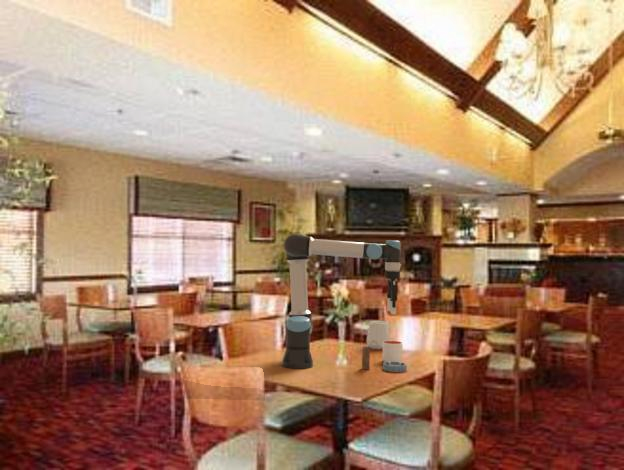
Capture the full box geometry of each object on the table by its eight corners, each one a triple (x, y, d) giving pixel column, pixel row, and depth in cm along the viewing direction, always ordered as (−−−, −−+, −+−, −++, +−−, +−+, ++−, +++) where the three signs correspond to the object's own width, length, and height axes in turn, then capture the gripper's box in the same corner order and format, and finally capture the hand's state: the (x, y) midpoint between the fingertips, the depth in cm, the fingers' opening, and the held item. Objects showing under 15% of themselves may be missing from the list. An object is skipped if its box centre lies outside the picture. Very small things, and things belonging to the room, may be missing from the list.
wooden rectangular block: (362, 369, 281) (362, 346, 281) (361, 368, 284) (362, 345, 284) (369, 369, 281) (369, 346, 281) (368, 368, 283) (369, 345, 284)
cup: (401, 364, 295) (401, 344, 295) (381, 363, 297) (381, 343, 297) (402, 360, 305) (402, 341, 305) (383, 359, 307) (383, 340, 307)
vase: (394, 347, 344) (395, 321, 345) (384, 350, 332) (385, 324, 333) (373, 344, 352) (373, 319, 352) (362, 348, 340) (362, 321, 340)
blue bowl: (384, 371, 277) (384, 364, 277) (382, 367, 288) (382, 359, 288) (407, 372, 276) (408, 364, 276) (404, 367, 287) (404, 360, 287)
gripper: (403, 272, 285) (402, 315, 285) (396, 269, 310) (395, 310, 310) (388, 271, 285) (387, 315, 285) (382, 269, 310) (381, 309, 310)
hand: (391, 312), depth 297 cm, fingers open, 13 cm apart
